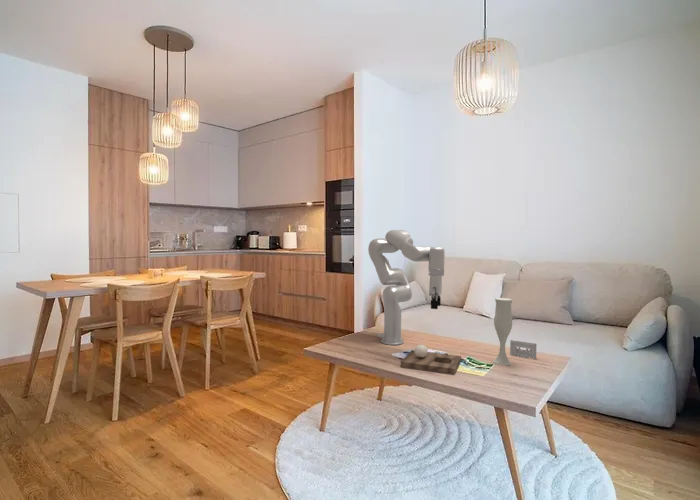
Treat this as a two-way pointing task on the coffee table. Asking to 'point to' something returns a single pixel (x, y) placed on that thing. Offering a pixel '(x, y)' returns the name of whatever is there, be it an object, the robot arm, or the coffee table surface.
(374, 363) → the coffee table surface
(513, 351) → the cassette
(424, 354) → the ball
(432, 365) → the board
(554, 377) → the coffee table surface
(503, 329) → the vase
